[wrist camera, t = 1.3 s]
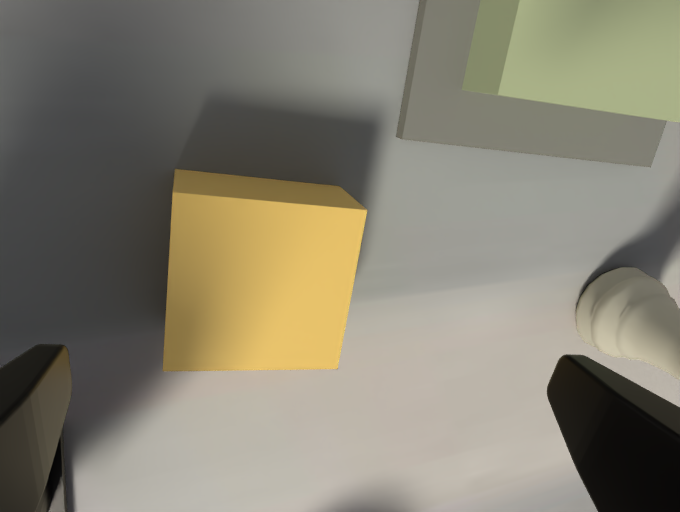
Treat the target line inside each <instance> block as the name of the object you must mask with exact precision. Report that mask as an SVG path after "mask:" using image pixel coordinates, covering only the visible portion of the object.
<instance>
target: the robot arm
mask: <svg viewBox="0 0 680 512" xmlns="http://www.w3.org/2000/svg"><path fill="white" fill-rule="evenodd" d="M71 394H72V379H71V370H70V362H69V353H68V350H67V348H66V347H65V346H64V345H61V344H39V345H36V346H34V347H32V348H31V349H29V350H28V351H26V352H25V353H23V354H21V355H20V356H18V357H17V358H15V359H14V360H12V361H11V362H9V363H7V364H6V365H4V366H3V367H1V368H0V512H67V499H66V481H65V463H64V444H63V424H64V420H65V417H66V413H67V410H68V406H69V403H70V399H71ZM547 396H548V400H549V402H550V405H551V407H552V410H553V412H554V415H555V417H556V420H557V422H558V425H559V427H560V430H561V432H562V435H563V437H564V440H565V442H566V445H567V447H568V450H569V452H570V455H571V457H572V460H573V462H574V464H575V467H576V469H577V471H578V473H579V475H580V477H581V479H582V481H583V483H584V485H585V487H586V489H587V491H588V493H589V495H590V497H591V499H592V501H593V503H594V505H595V507H596V509H597V511H598V512H680V407H678V406H676V405H674V404H672V403H671V402H669V401H667V400H665V399H663V398H661V397H660V396H658V395H656V394H654V393H652V392H650V391H649V390H647V389H645V388H643V387H641V386H639V385H638V384H636V383H634V382H632V381H630V380H628V379H627V378H625V377H623V376H621V375H619V374H617V373H616V372H614V371H612V370H610V369H608V368H607V367H605V366H603V365H601V364H599V363H597V362H596V361H594V360H592V359H590V358H588V357H586V356H584V355H563V356H562V357H561V358H560V359H559V361H558V363H557V365H556V367H555V370H554V372H553V374H552V377H551V379H550V381H549V384H548V387H547Z"/></svg>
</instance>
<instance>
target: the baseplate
mask: <svg viewBox="0 0 680 512" xmlns="http://www.w3.org/2000/svg"><path fill="white" fill-rule="evenodd" d="M667 121H673V122H680V0H420V2H419V8H418V14H417V19H416V25H415V31H414V37H413V42H412V48H411V54H410V60H409V65H408V71H407V77H406V83H405V88H404V94H403V100H402V106H401V111H400V117H399V123H398V129H397V134H396V137H398V138H400V139H404V140H413V141H422V142H431V143H440V144H448V145H457V146H466V147H475V148H484V149H493V150H502V151H510V152H519V153H528V154H537V155H546V156H555V157H564V158H572V159H581V160H590V161H599V162H608V163H617V164H626V165H634V166H643V167H651V165H652V162H653V159H654V156H655V153H656V151H657V148H658V145H659V142H660V139H661V136H662V133H663V130H664V128H665V125H666V122H667Z"/></svg>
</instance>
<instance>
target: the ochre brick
mask: <svg viewBox="0 0 680 512" xmlns="http://www.w3.org/2000/svg"><path fill="white" fill-rule="evenodd" d="M366 215H367V209H365V208H364V207H363V206H362V205H361V204H360V203H358V202H357V201H356V200H355V199H354V198H353V197H352V196H350V195H349V194H348V193H347V192H346V191H345V190H344V189H342V188H341V187H340V186H332V185H323V184H313V183H304V182H294V181H285V180H275V179H266V178H256V177H247V176H237V175H228V174H218V173H209V172H199V171H190V170H180V169H175V174H174V184H173V196H172V214H171V231H170V249H169V267H168V285H167V302H166V320H165V338H164V355H163V371H224V370H295V369H338V363H339V358H340V353H341V347H342V342H343V337H344V331H345V326H346V321H347V315H348V310H349V305H350V300H351V294H352V289H353V284H354V278H355V273H356V268H357V262H358V257H359V252H360V246H361V241H362V236H363V230H364V225H365V220H366Z"/></svg>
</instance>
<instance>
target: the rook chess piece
mask: <svg viewBox="0 0 680 512" xmlns="http://www.w3.org/2000/svg"><path fill="white" fill-rule="evenodd" d="M576 324H577V331H578V333H579V334H580V336H581V338H582V339H583V341H584V342H585V343H587V344H590V345H592V346H594V347H596V348H597V349H598V350H599V351H601V352H603V353H605V354H607V355H610V356H613V357H616V358H617V357H626V358H628V359H630V360H637V359H639V360H642V361H645V362H647V363H649V364H651V365H654V366H656V367H658V368H660V369H662V370H664V371H666V372H668V373H669V374H671V375H672V376H674V377H675V378H677V379H678V380H680V309H679V308H678V306H677V304H676V302H675V300H674V299H673V298H671V297H670V295H669V293H668V290H667V288H666V287H665V286H664V285H663V284H662V283H661V282H659V281H658V280H656V279H654V278H653V277H651V276H647V274H646V273H644V272H643V271H641V270H639V269H638V268H635V267H621V268H618V269H614V270H611V271H609V272H606V273H604V274H602V275H600V276H599V277H597V278H596V279H595V280H594V281H593V282H591V283H590V284H589V285H588V286H587V288H586V289H585V291H584V292H583V294H582V295H581V297H580V299H579V302H578V305H577V308H576Z"/></svg>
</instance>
